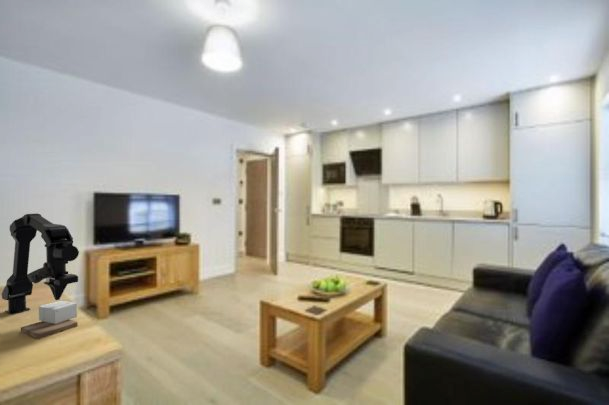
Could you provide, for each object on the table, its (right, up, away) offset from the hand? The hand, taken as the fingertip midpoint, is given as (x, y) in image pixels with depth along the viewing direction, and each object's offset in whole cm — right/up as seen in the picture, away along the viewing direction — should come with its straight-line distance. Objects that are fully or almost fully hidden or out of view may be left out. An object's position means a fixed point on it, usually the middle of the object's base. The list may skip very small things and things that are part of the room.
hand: (57, 299), depth 123 cm
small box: (-6, -5, +4) cm, 9 cm away
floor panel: (0, -10, -4) cm, 10 cm away
